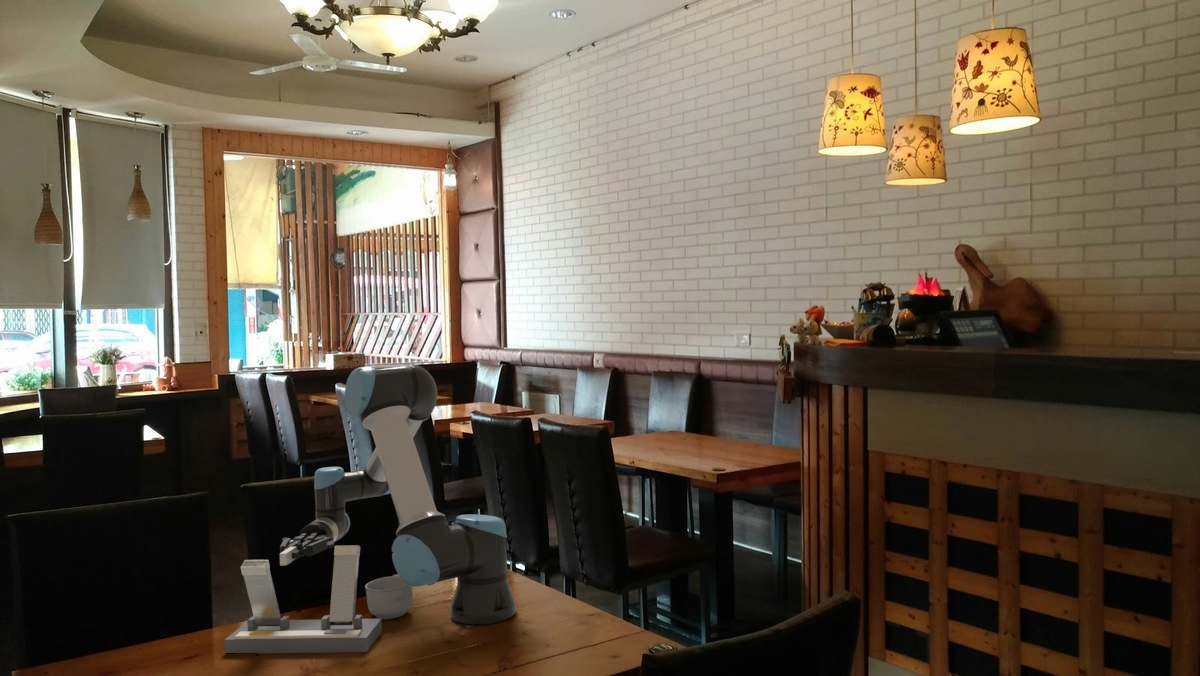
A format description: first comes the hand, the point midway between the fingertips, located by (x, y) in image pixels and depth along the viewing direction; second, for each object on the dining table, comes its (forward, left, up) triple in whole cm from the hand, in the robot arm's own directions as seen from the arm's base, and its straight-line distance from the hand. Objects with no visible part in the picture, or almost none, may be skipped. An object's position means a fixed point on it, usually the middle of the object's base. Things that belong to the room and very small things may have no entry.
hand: (283, 559), depth 202 cm
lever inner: (-16, +10, -11) cm, 22 cm away
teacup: (-22, -9, -16) cm, 29 cm away
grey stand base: (-8, +10, -16) cm, 20 cm away
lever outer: (0, +10, -11) cm, 15 cm away
